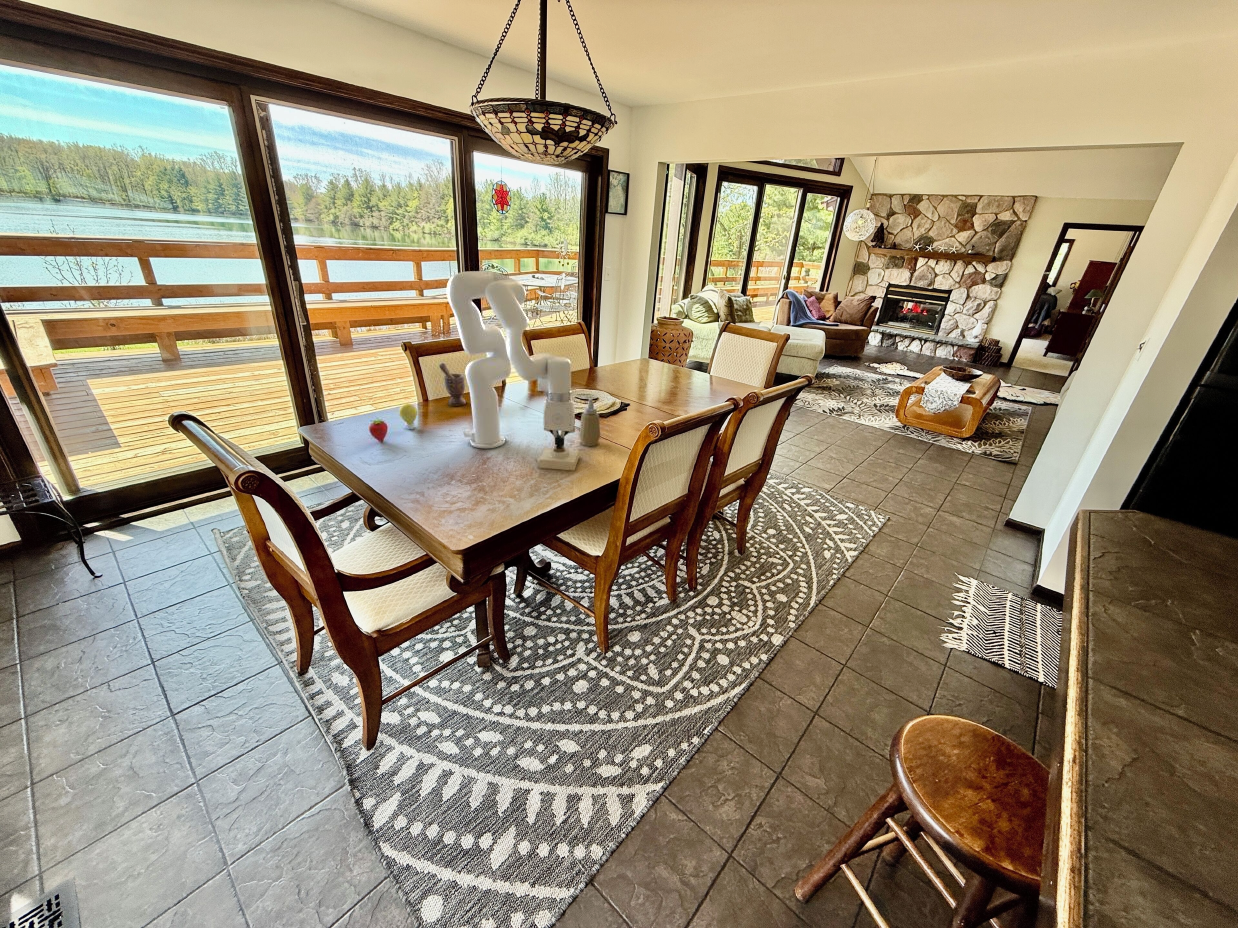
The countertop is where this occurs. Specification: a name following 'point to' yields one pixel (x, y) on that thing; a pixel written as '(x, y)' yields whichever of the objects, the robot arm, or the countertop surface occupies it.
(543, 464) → the beige push button box
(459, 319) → the robot arm
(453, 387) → the mortar and pestle
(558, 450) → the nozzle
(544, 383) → the white packaging box
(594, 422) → the squeeze bottle
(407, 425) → the light bulb
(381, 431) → the strawberry
